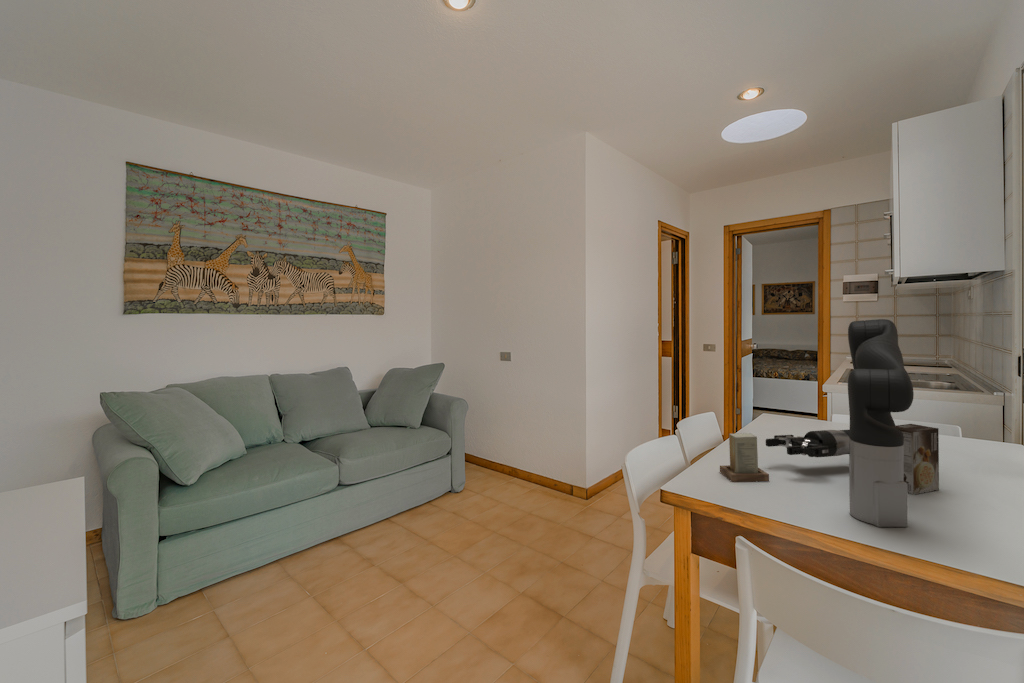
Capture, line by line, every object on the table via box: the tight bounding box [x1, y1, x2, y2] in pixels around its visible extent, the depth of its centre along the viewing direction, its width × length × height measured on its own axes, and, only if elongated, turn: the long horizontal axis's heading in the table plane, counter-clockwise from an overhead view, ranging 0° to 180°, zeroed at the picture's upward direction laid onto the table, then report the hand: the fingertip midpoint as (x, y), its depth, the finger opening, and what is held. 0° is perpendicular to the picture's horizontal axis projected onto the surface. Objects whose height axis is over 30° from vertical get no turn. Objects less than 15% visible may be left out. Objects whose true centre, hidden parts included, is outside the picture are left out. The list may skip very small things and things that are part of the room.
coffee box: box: [891, 423, 940, 495], centre depth 112 cm, size 9×6×16 cm
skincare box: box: [728, 432, 759, 473], centre depth 124 cm, size 6×4×12 cm
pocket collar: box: [719, 464, 770, 483], centre depth 124 cm, size 8×10×2 cm
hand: (776, 446), depth 125 cm, fingers open, 8 cm apart
